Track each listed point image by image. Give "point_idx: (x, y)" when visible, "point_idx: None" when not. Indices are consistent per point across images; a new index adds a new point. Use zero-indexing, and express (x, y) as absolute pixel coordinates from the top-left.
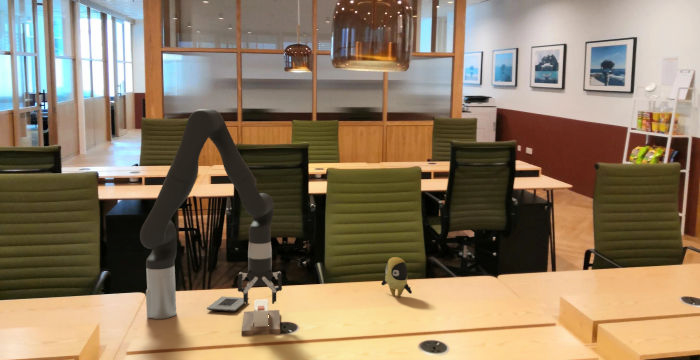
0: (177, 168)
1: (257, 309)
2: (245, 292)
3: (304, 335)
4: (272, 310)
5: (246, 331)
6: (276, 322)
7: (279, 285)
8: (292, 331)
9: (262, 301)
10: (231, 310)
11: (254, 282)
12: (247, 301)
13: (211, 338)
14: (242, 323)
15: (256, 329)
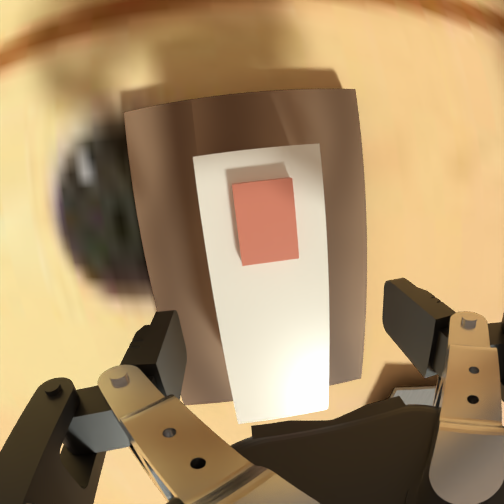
0: None
1: (294, 198)
2: (463, 314)
3: (22, 108)
4: (218, 400)
5: (326, 89)
6: (158, 221)
7: (40, 420)
8: (73, 153)
9: (272, 384)
10: (408, 387)
11: (448, 414)
12: (399, 286)
13: (459, 88)
14: (365, 207)
15: (270, 100)
